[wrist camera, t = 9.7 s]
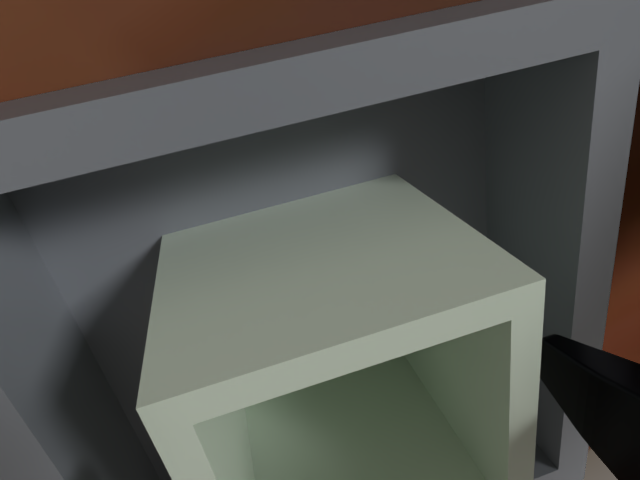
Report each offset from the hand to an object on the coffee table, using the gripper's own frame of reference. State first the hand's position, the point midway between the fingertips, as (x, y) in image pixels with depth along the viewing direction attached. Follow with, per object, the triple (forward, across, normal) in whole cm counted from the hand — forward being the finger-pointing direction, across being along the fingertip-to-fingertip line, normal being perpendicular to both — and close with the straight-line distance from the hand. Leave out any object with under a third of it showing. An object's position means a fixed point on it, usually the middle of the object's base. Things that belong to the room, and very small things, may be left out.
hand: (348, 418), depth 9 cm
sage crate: (+4, 0, 0) cm, 5 cm away
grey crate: (+5, 0, 0) cm, 5 cm away
